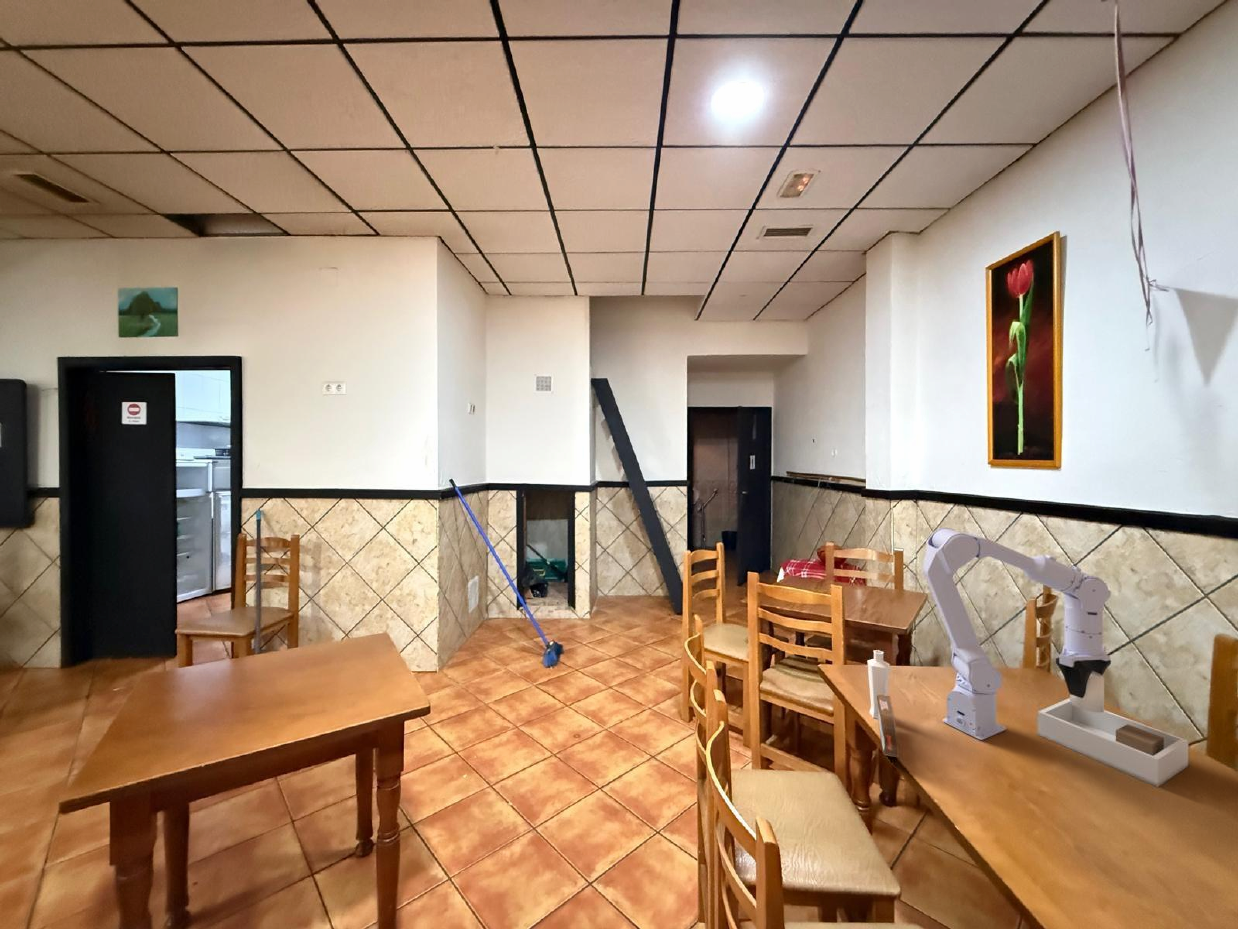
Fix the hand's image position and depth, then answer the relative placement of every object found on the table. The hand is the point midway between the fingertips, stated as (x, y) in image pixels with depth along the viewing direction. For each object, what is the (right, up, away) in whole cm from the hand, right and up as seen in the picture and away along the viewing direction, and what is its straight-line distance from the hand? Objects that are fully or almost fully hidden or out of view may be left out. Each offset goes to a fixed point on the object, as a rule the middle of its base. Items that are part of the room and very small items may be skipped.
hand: (1083, 692), depth 98 cm
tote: (+2, -10, -4) cm, 11 cm away
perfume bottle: (-38, -10, +10) cm, 41 cm away
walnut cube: (+3, -9, -8) cm, 13 cm away
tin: (-42, -11, -1) cm, 44 cm away
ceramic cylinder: (0, -3, -1) cm, 3 cm away
